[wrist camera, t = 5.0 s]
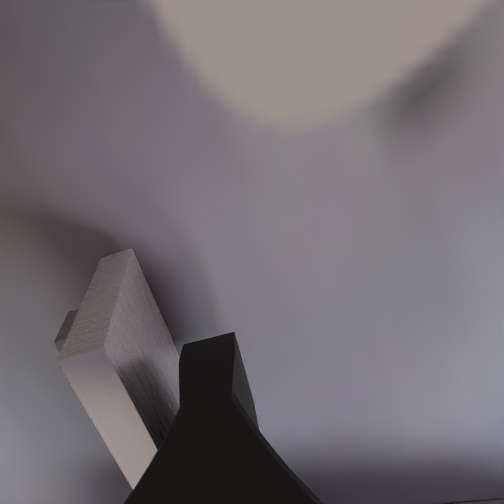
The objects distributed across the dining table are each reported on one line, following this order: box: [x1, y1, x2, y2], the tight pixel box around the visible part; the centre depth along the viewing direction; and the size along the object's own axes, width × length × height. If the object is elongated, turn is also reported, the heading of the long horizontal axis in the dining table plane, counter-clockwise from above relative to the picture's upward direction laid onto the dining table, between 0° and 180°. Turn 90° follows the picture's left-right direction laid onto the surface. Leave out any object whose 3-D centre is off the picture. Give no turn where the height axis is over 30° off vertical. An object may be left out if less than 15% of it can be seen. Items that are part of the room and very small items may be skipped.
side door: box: [54, 248, 180, 489], centre depth 10 cm, size 9×1×4 cm, turn 16°
